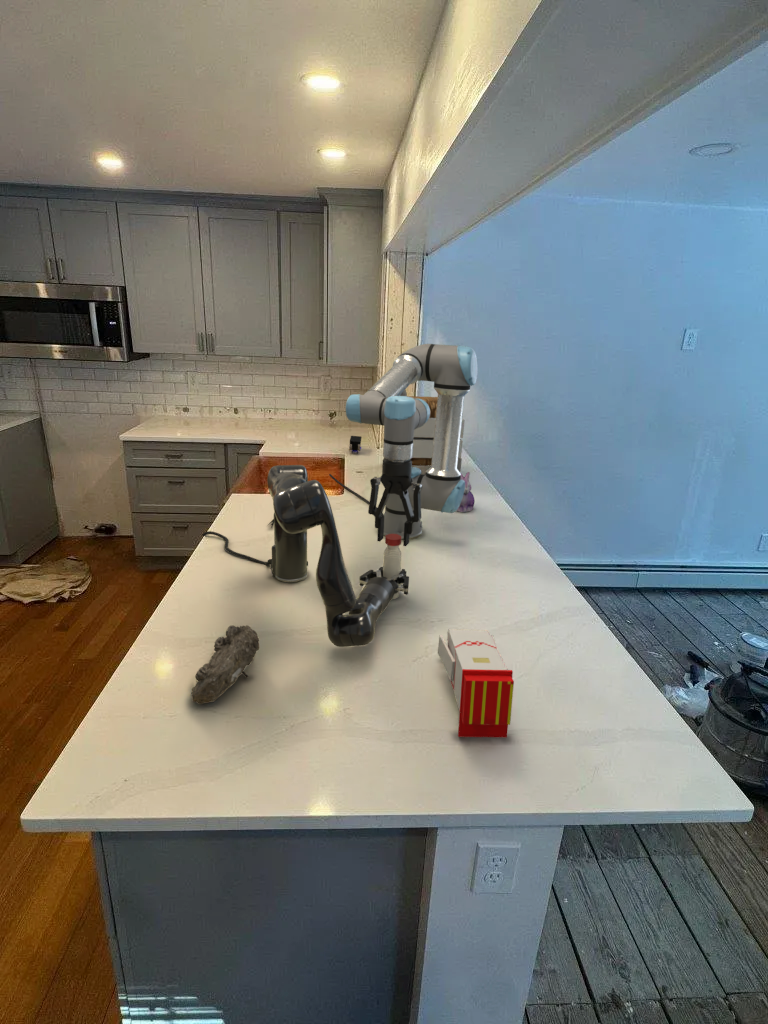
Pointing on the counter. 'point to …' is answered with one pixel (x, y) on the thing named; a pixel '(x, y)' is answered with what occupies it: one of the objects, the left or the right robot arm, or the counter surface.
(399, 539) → the cap
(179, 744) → the counter surface
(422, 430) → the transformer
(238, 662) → the fossil
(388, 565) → the bottle
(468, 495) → the figurine
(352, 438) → the figurine character
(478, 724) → the toy
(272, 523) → the feather
